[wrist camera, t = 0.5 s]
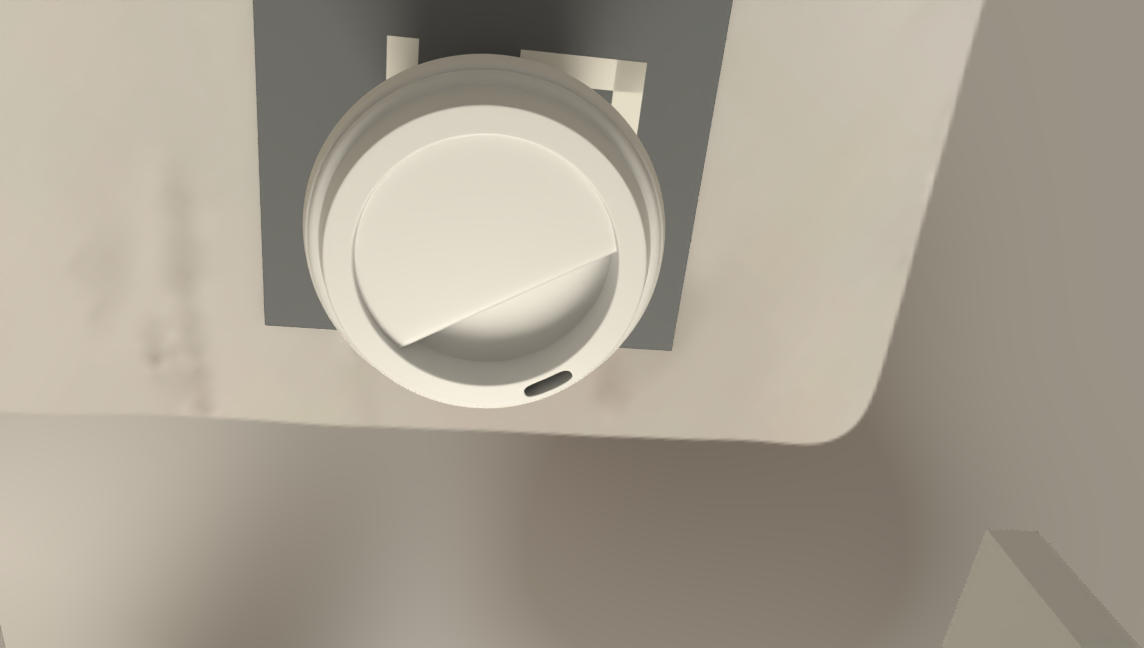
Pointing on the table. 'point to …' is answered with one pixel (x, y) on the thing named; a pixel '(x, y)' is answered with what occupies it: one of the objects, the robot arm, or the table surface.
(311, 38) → the mat
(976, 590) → the robot arm
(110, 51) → the table surface
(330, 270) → the coffee cup
